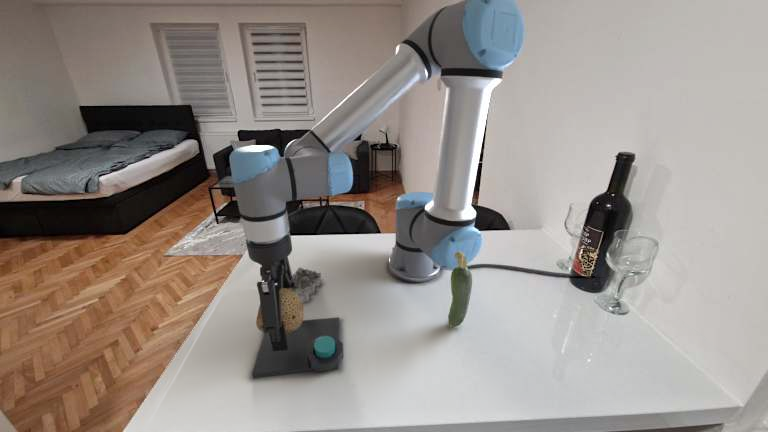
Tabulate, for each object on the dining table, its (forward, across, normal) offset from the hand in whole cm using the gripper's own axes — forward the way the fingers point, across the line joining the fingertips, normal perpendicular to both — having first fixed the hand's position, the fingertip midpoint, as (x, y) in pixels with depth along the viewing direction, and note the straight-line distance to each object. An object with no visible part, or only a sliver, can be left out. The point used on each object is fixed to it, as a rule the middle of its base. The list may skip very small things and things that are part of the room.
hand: (284, 330), depth 63 cm
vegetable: (+4, 0, +37) cm, 37 cm away
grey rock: (+4, -18, +1) cm, 18 cm away
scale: (+3, +2, +3) cm, 5 cm away
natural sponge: (0, 0, 0) cm, 0 cm away
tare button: (+1, +6, +8) cm, 10 cm away
